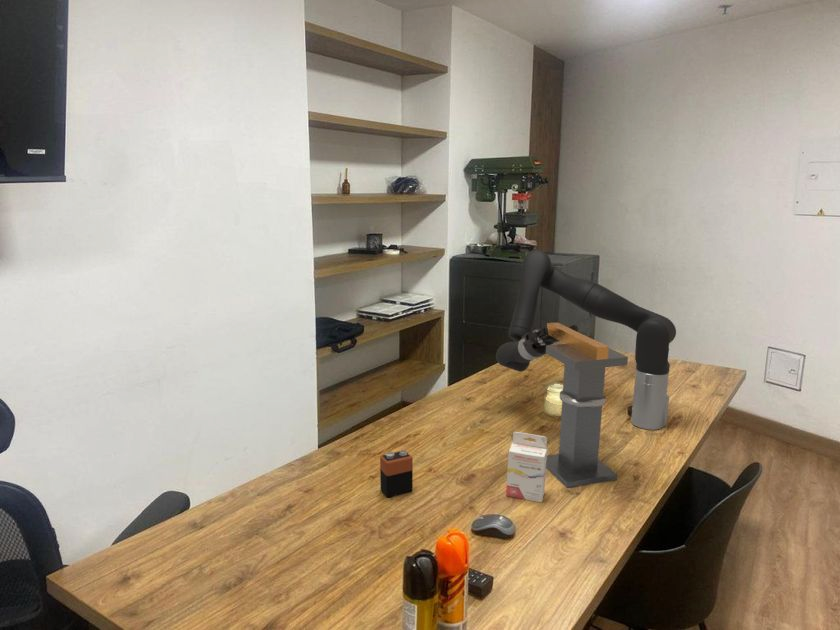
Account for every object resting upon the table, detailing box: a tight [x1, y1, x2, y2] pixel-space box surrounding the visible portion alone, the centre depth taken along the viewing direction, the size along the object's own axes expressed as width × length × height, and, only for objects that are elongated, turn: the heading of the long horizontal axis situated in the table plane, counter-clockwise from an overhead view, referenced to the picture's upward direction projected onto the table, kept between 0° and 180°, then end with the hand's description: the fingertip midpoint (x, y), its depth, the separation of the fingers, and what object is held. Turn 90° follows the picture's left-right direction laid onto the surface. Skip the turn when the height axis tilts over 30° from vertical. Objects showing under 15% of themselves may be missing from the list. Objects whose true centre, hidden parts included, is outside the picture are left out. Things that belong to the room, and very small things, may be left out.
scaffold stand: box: [546, 343, 629, 489], centre depth 147 cm, size 14×14×32 cm
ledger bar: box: [546, 322, 610, 360], centre depth 147 cm, size 3×24×3 cm, turn 16°
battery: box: [379, 449, 414, 498], centre depth 139 cm, size 4×7×10 cm, turn 117°
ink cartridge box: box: [505, 431, 548, 503], centre depth 137 cm, size 9×5×15 cm, turn 71°
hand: (561, 329), depth 154 cm, fingers open, 8 cm apart
